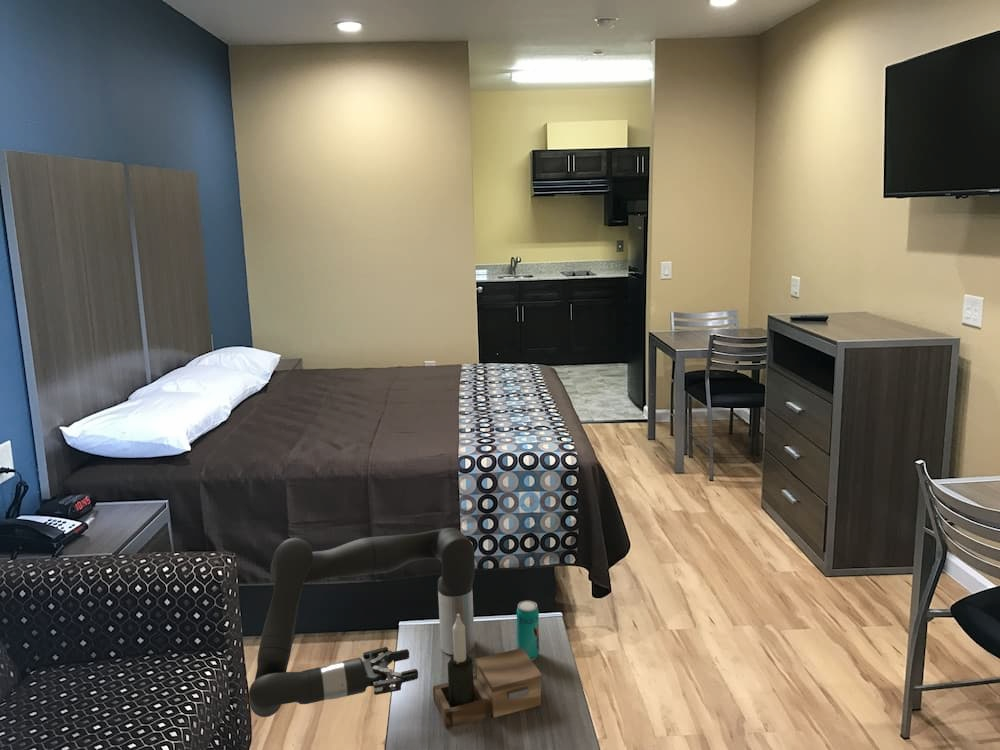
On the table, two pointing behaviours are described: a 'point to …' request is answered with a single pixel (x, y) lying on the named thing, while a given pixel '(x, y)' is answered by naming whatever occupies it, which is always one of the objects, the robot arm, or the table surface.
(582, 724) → the table surface
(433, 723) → the table surface
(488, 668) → the wooden box
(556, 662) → the table surface
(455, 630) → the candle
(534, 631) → the beverage can
